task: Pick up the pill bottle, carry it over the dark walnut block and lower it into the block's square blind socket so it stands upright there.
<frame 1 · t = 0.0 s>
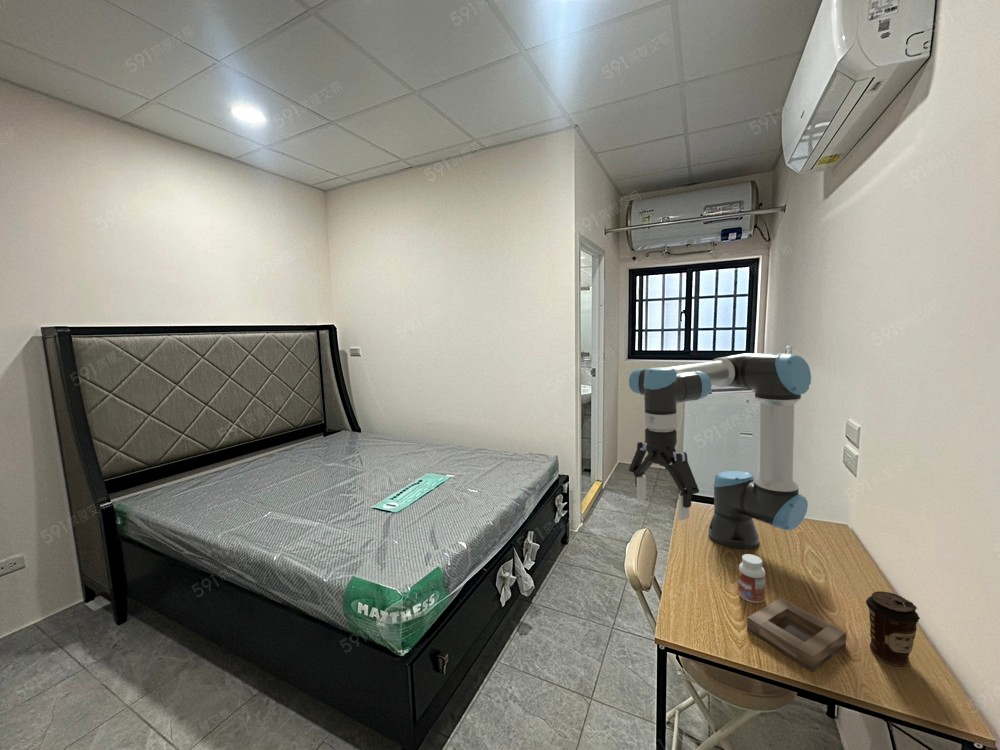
hand: (661, 508, 105), 28 cm above the table, fingers open, 13 cm apart
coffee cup: (890, 656, 90), on the table
pill bottle: (751, 597, 111), on the table
bore block: (794, 638, 96), on the table
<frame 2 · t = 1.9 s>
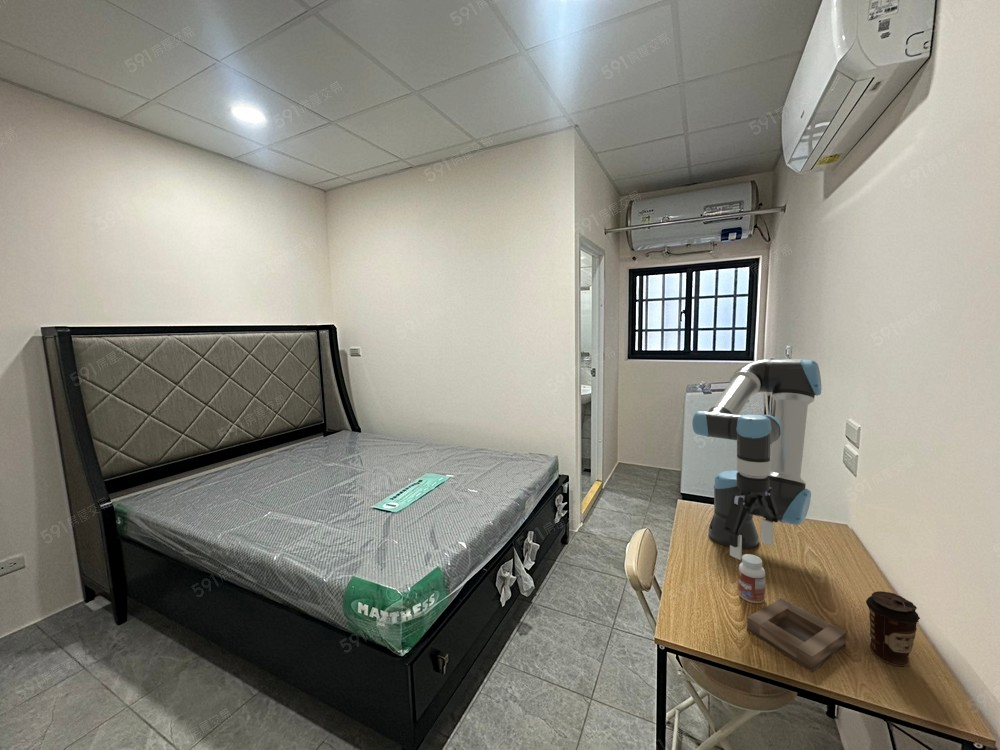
hand: (751, 550, 109), 14 cm above the table, fingers open, 13 cm apart
nothing on the table moved.
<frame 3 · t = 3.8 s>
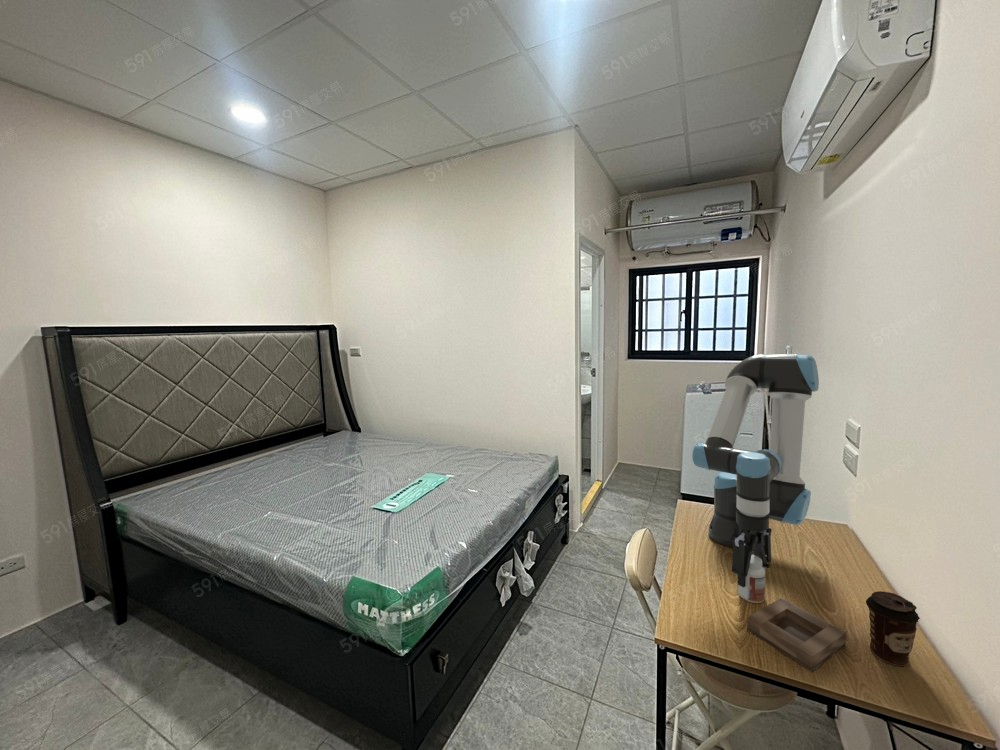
hand: (751, 591, 111), 1 cm above the table, fingers closed on pill bottle, 6 cm apart
pill bottle: (751, 597, 111), on the table, touching gripper
everything else where it was.
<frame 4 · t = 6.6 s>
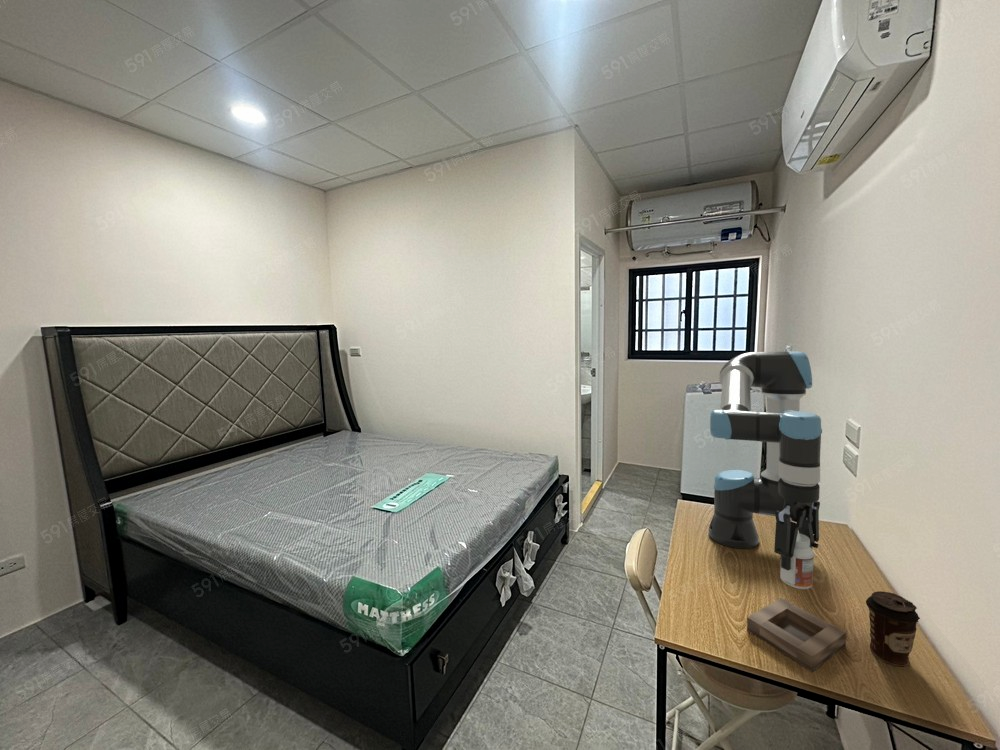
hand: (796, 576, 94), 16 cm above the table, fingers closed on pill bottle, 6 cm apart
pill bottle: (796, 582, 95), point 14 cm above the table, touching gripper
everything else where it was.
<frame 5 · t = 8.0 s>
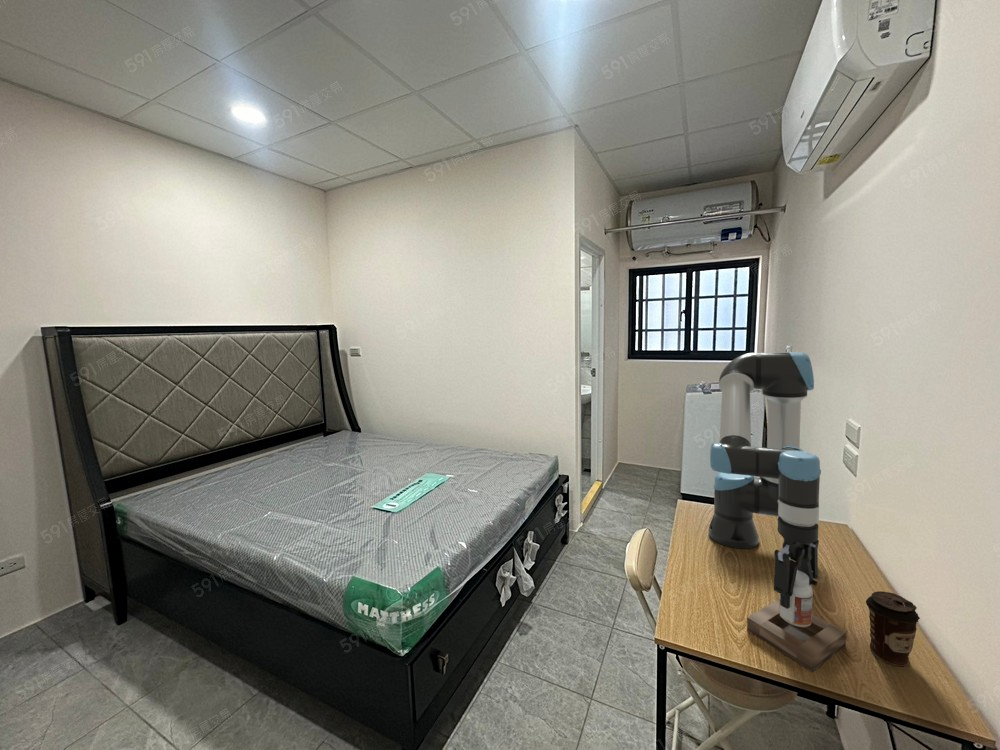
hand: (795, 613, 95), 6 cm above the table, fingers closed on pill bottle, 6 cm apart
pill bottle: (795, 619, 95), point 5 cm above the table, touching gripper
everything else where it was.
when the fingers open (4 cm above the table, at t = 9.2 s): pill bottle drops 2 cm, resting on bore block.
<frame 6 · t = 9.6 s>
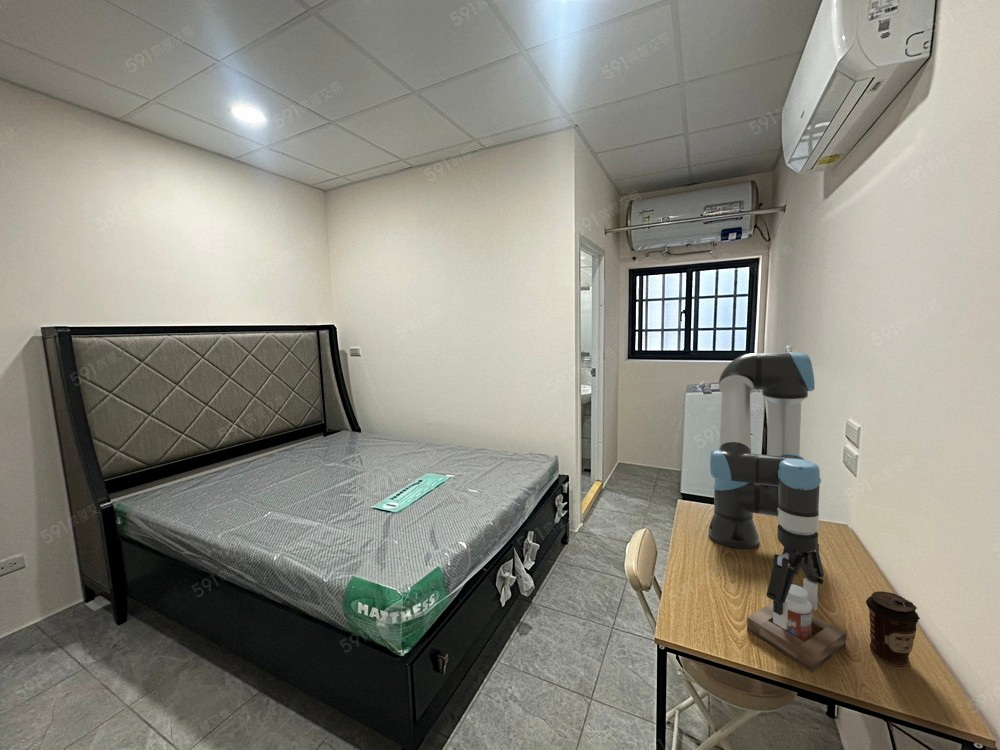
hand: (795, 615, 95), 6 cm above the table, fingers open, 11 cm apart
pill bottle: (794, 634, 96), point 1 cm above the table, touching bore block
everything else where it was.
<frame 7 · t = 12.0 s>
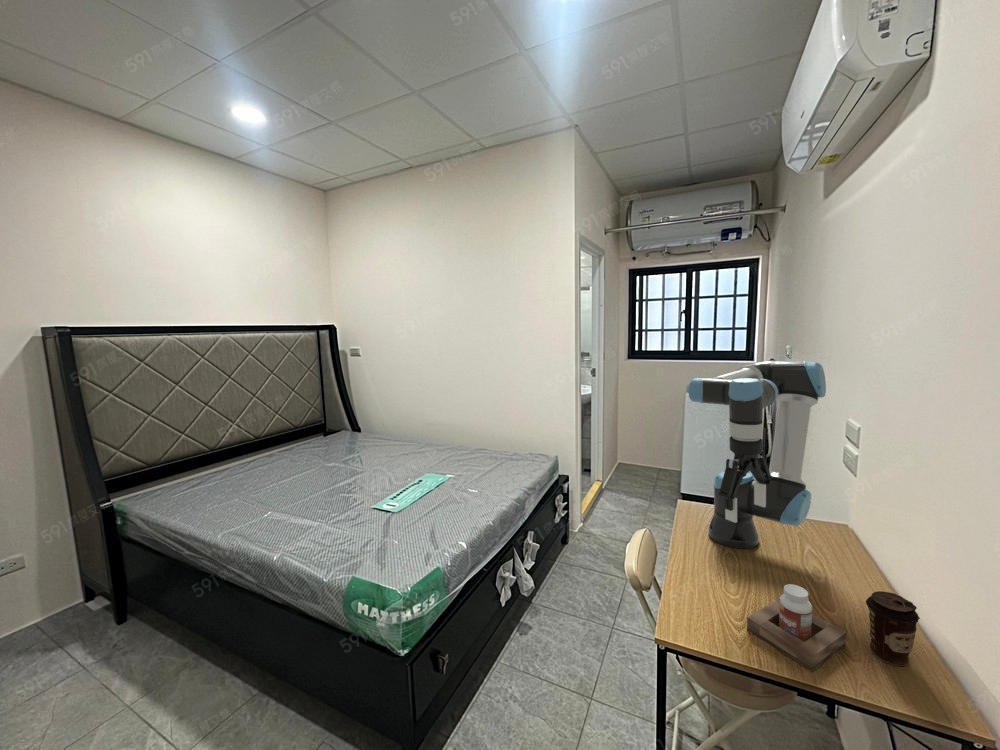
hand: (746, 512, 110), 23 cm above the table, fingers open, 13 cm apart
nothing on the table moved.
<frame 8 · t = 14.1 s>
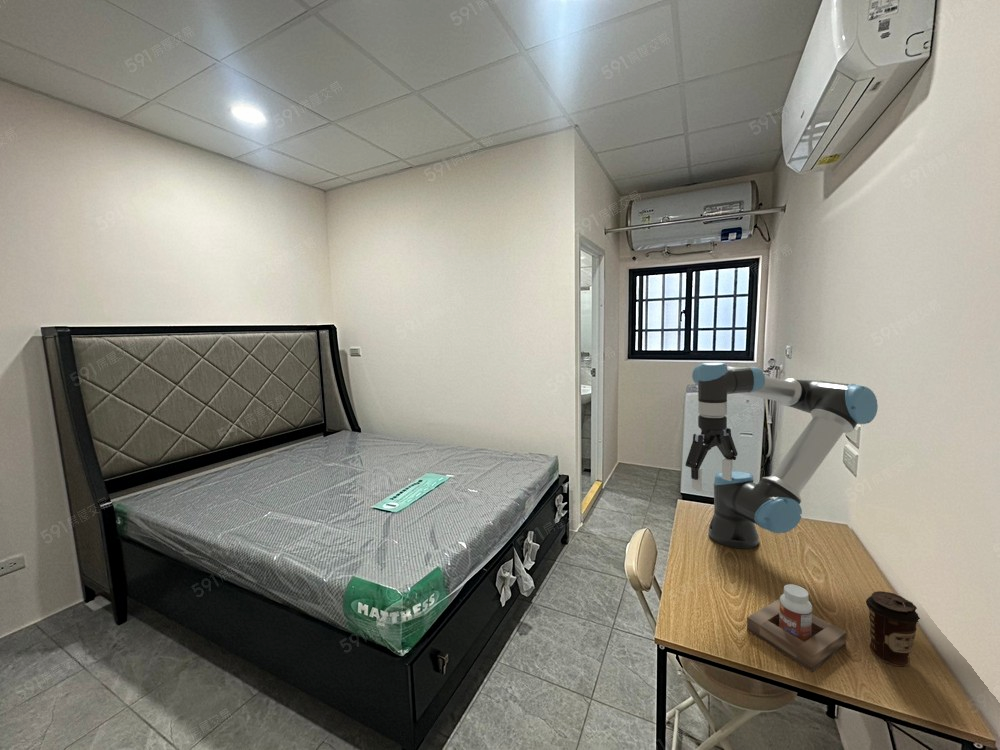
hand: (712, 484, 122), 27 cm above the table, fingers open, 13 cm apart
nothing on the table moved.
at the end: pill bottle 0.1 cm off-centre on the bore block, point 0.8 cm above the bore block's base; pill bottle tilted 0°; the gripper is holding nothing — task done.
